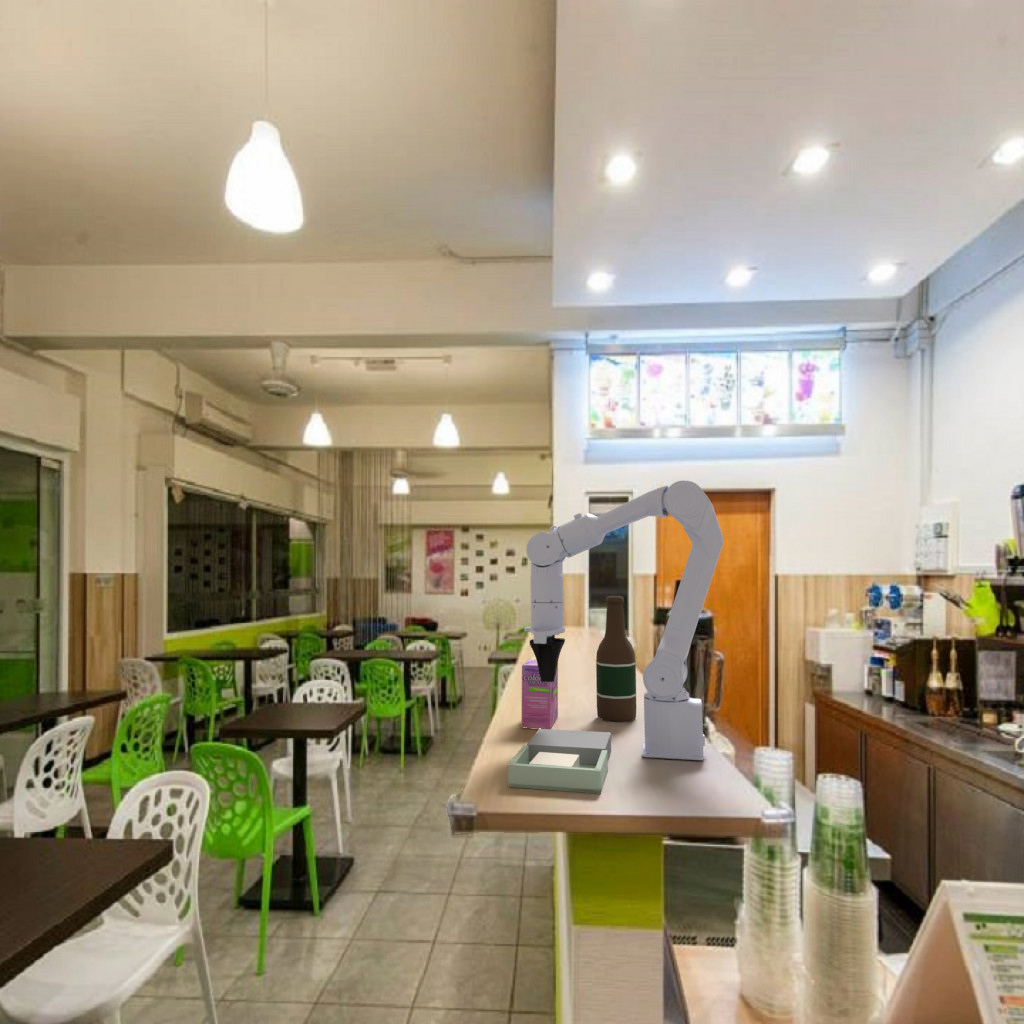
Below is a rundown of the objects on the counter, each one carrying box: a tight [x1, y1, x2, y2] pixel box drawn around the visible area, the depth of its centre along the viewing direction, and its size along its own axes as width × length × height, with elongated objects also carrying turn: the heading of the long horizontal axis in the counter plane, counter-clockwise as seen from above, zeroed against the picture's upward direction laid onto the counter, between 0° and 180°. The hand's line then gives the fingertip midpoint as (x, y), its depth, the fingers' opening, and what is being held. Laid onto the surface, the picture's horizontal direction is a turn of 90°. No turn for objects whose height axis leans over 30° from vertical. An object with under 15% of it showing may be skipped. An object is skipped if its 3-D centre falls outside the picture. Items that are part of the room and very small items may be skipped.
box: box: [520, 656, 559, 729], centre depth 132 cm, size 10×6×12 cm, turn 168°
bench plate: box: [526, 728, 612, 766], centre depth 109 cm, size 12×10×3 cm
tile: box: [529, 752, 580, 768], centre depth 97 cm, size 6×6×2 cm
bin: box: [507, 744, 609, 795], centre depth 98 cm, size 13×11×3 cm
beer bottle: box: [595, 595, 637, 723], centre depth 136 cm, size 8×8×24 cm
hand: (547, 681), depth 118 cm, fingers closed
